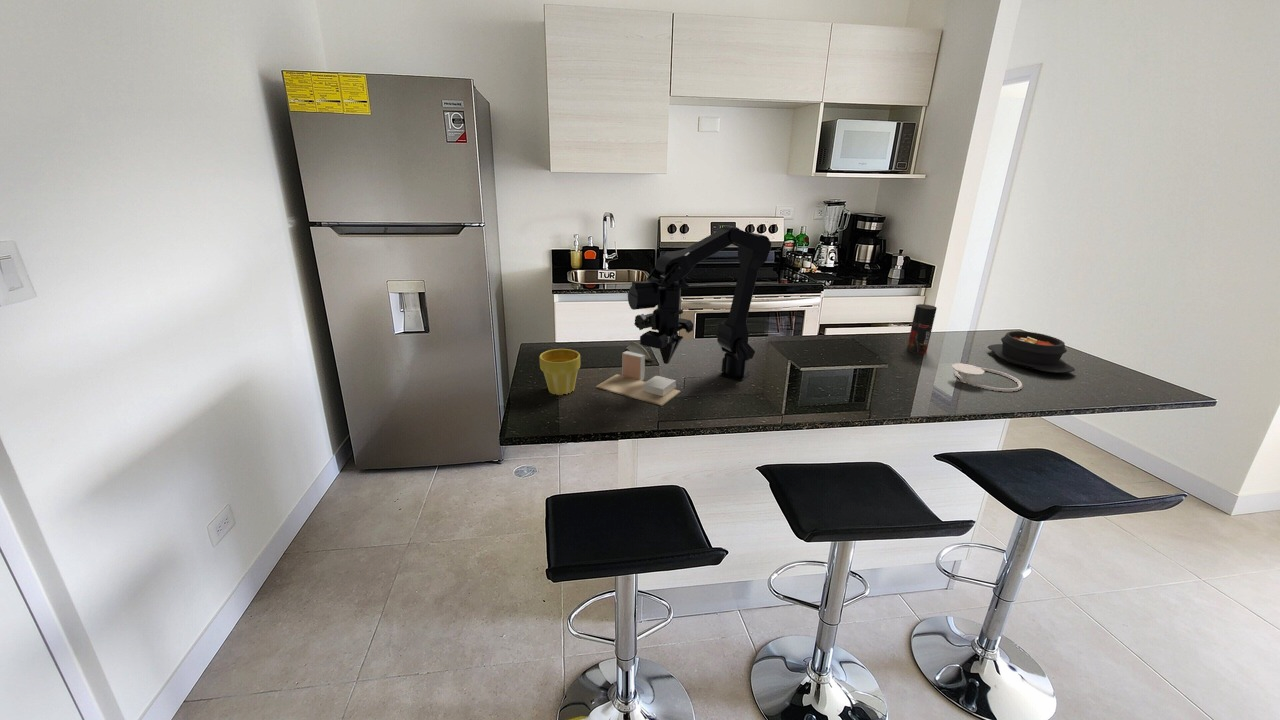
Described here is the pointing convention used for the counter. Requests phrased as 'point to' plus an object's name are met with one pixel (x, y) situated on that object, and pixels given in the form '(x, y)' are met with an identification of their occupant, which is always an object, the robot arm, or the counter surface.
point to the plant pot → (560, 369)
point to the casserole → (1033, 351)
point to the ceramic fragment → (639, 350)
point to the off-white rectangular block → (633, 365)
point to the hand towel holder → (975, 371)
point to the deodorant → (921, 328)
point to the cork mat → (634, 389)
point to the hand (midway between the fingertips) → (666, 363)
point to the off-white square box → (659, 385)
